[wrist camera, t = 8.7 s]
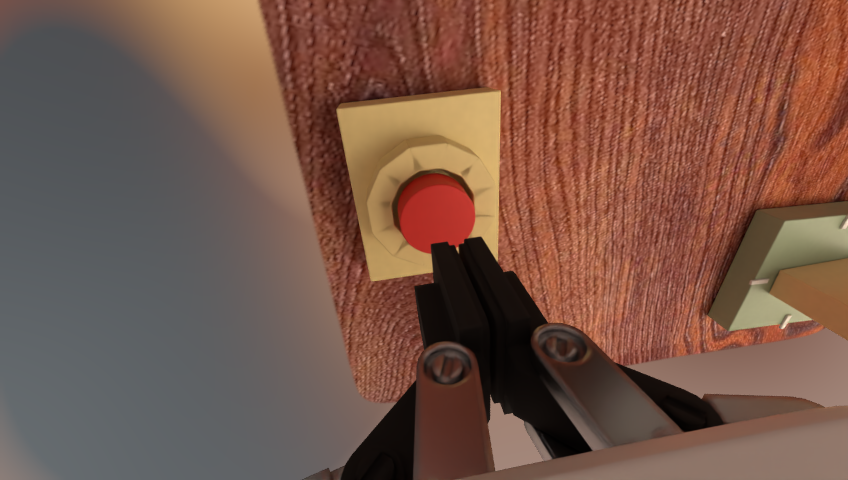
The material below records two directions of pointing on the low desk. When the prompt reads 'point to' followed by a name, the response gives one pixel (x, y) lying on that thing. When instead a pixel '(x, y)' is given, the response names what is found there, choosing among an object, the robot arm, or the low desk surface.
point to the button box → (420, 166)
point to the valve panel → (778, 262)
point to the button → (435, 212)
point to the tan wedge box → (817, 293)
